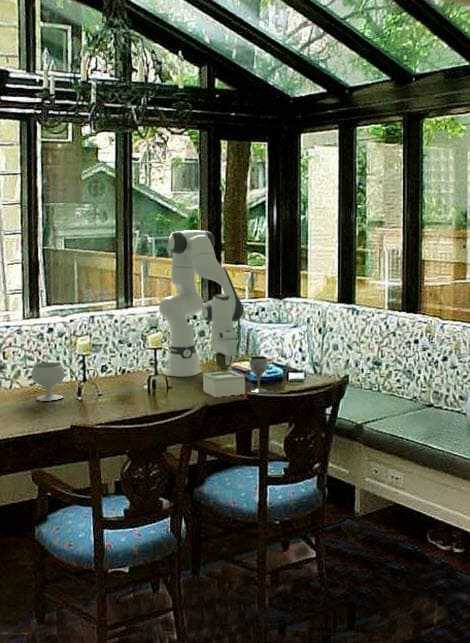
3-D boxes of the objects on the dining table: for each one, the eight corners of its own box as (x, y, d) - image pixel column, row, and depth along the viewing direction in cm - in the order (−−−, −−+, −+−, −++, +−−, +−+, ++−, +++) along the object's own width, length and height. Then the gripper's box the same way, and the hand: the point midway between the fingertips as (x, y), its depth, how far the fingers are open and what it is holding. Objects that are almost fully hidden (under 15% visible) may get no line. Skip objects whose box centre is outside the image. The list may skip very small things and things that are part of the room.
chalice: (30, 397, 389) (28, 363, 387) (62, 394, 395) (60, 360, 392) (35, 404, 377) (34, 369, 374) (68, 400, 382) (67, 366, 380)
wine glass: (262, 388, 399) (262, 355, 397) (271, 391, 392) (270, 358, 390) (246, 390, 396) (246, 357, 394) (255, 393, 389) (254, 360, 387)
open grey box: (203, 391, 395) (203, 373, 394) (232, 387, 401) (232, 370, 400) (215, 397, 383) (215, 379, 382) (245, 394, 388) (244, 376, 387)
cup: (233, 369, 394) (232, 351, 392) (231, 373, 386) (231, 355, 385) (216, 369, 394) (216, 352, 393) (214, 373, 387) (214, 355, 386)
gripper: (207, 329, 396) (208, 359, 398) (225, 335, 377) (226, 367, 380) (220, 328, 398) (221, 358, 401) (238, 334, 380) (239, 366, 382)
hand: (223, 363), depth 390 cm, fingers closed on cup, 7 cm apart
